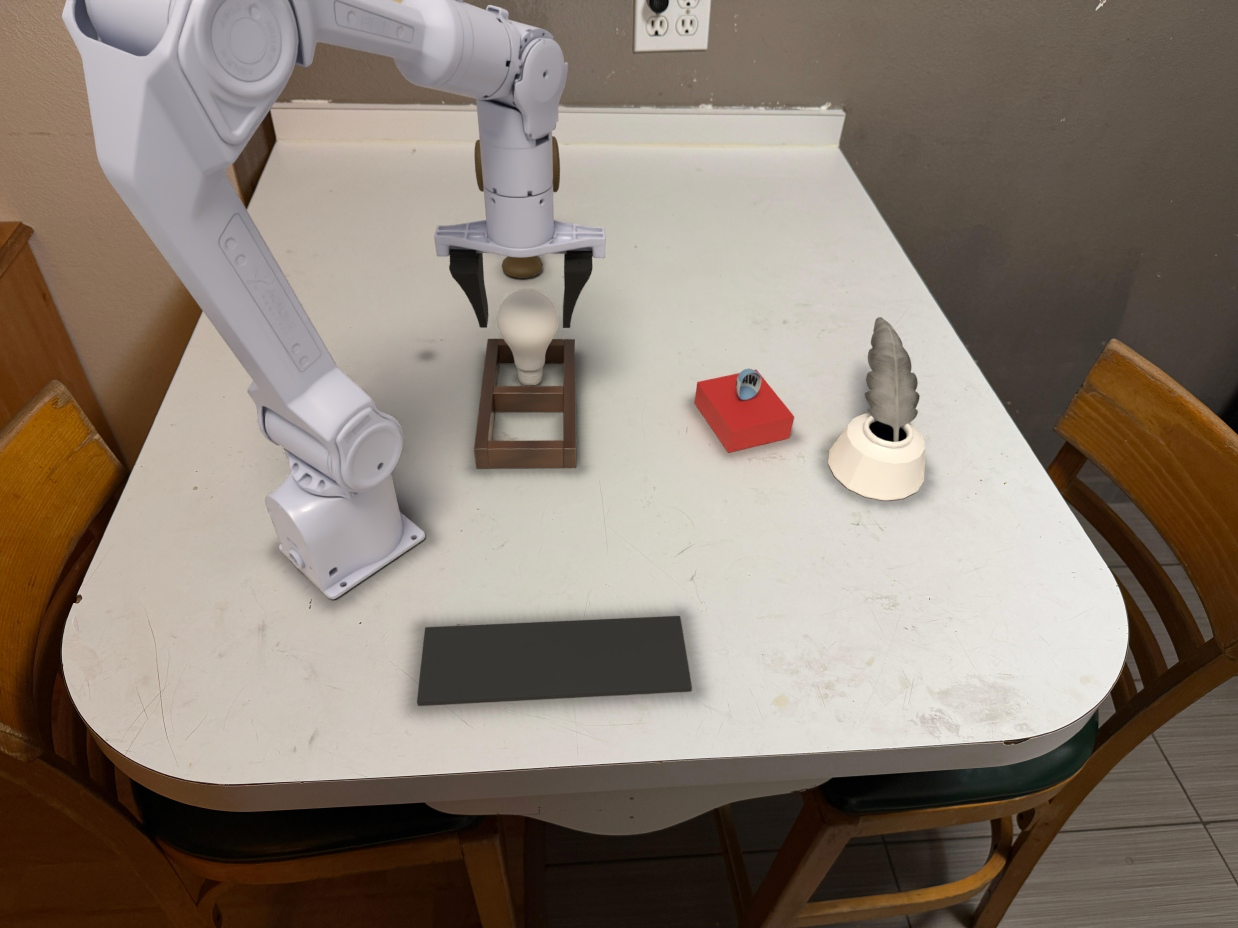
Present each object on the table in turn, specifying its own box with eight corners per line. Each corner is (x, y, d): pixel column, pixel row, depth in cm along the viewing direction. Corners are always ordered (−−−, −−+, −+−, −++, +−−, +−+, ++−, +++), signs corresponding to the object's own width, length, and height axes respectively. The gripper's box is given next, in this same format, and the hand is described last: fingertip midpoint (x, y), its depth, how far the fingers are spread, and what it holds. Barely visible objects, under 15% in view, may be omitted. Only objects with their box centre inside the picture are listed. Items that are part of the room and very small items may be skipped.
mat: (417, 705, 59) (416, 702, 58) (425, 630, 63) (424, 626, 63) (691, 691, 60) (691, 687, 60) (679, 619, 65) (680, 615, 65)
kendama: (562, 282, 101) (560, 118, 87) (484, 284, 100) (470, 119, 86) (559, 257, 105) (556, 98, 92) (483, 260, 104) (470, 99, 90)
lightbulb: (493, 374, 87) (486, 284, 80) (547, 361, 89) (544, 272, 82) (513, 407, 83) (506, 316, 76) (568, 393, 85) (567, 303, 78)
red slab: (694, 403, 85) (700, 353, 81) (752, 390, 87) (761, 341, 82) (728, 452, 80) (737, 402, 75) (789, 438, 81) (801, 388, 77)
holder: (476, 468, 77) (473, 449, 75) (489, 357, 89) (487, 338, 88) (576, 468, 77) (576, 448, 76) (574, 357, 90) (574, 338, 88)
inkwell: (834, 499, 75) (860, 417, 69) (809, 380, 88) (828, 301, 82) (934, 504, 75) (970, 423, 69) (894, 384, 88) (920, 306, 82)
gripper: (605, 163, 70) (601, 299, 79) (434, 160, 69) (451, 298, 79) (607, 200, 65) (603, 341, 74) (423, 198, 64) (443, 340, 74)
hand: (525, 322), depth 76 cm, fingers open, 7 cm apart
